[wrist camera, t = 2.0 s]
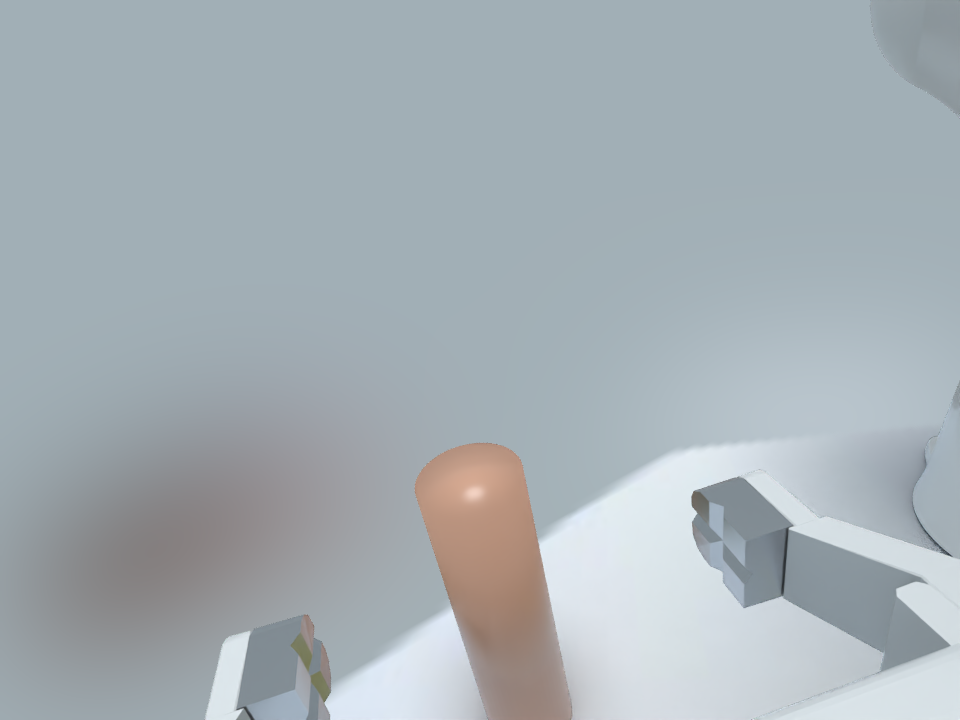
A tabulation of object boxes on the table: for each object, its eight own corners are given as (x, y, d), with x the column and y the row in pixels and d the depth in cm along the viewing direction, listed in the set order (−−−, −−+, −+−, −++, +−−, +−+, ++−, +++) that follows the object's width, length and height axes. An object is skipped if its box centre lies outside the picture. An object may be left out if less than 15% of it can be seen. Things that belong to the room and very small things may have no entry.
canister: (562, 663, 36) (515, 434, 27) (580, 746, 31) (531, 502, 23) (485, 679, 36) (416, 455, 28) (493, 764, 31) (413, 526, 23)
